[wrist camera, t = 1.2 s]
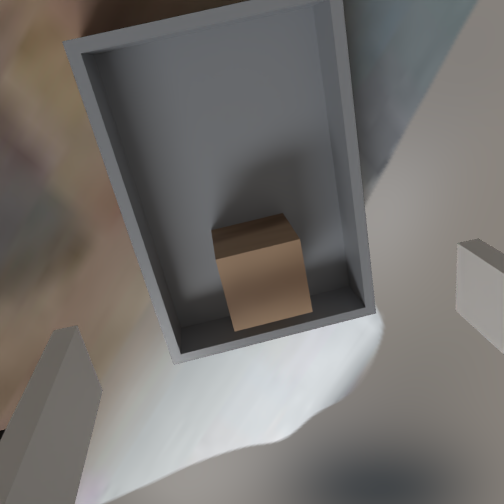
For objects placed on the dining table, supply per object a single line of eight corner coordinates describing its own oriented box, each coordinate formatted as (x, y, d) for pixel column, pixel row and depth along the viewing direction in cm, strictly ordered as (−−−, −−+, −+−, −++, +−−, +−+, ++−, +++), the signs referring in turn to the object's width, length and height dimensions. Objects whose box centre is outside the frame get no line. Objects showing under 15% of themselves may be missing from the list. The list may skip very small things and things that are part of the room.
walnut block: (211, 230, 36) (215, 259, 30) (282, 212, 36) (300, 239, 31) (227, 293, 38) (234, 331, 33) (294, 277, 39) (312, 311, 33)
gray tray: (79, 45, 30) (62, 41, 26) (320, -8, 31) (340, -20, 27) (175, 334, 40) (173, 364, 36) (356, 288, 41) (375, 313, 36)
